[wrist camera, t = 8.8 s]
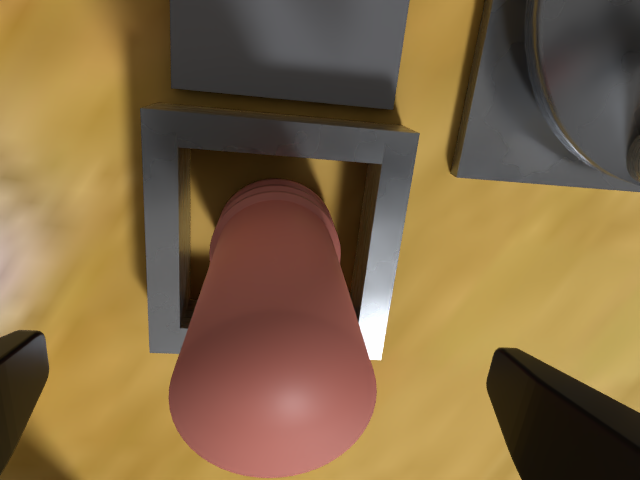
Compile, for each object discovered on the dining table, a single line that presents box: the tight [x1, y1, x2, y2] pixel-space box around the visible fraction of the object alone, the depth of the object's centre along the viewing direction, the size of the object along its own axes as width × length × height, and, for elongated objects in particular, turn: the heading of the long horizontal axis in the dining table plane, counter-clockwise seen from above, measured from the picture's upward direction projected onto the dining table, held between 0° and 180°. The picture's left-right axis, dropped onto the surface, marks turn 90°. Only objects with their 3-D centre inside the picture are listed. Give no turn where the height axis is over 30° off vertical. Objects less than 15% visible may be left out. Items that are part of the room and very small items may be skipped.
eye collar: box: [140, 103, 420, 360], centre depth 15 cm, size 8×8×2 cm
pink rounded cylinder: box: [169, 178, 377, 478], centre depth 12 cm, size 4×4×9 cm
